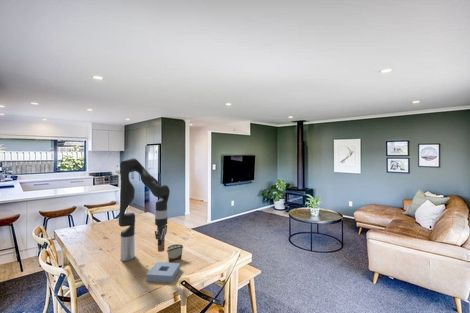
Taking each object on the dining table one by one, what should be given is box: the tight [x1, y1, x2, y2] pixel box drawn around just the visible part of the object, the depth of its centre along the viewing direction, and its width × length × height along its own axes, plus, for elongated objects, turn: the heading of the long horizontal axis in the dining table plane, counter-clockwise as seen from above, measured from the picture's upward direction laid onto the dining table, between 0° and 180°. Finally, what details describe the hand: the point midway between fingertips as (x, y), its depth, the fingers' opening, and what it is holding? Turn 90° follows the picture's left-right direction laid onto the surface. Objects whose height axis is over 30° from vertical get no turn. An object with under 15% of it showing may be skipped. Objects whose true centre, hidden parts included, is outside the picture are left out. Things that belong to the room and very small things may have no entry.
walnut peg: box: [157, 231, 166, 252], centre depth 147 cm, size 4×4×12 cm
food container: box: [166, 243, 184, 263], centre depth 169 cm, size 12×6×10 cm, turn 131°
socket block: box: [145, 261, 181, 283], centre depth 148 cm, size 16×16×4 cm
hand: (161, 243), depth 147 cm, fingers closed on walnut peg, 4 cm apart
